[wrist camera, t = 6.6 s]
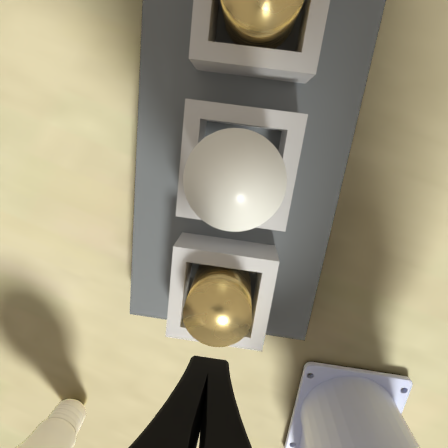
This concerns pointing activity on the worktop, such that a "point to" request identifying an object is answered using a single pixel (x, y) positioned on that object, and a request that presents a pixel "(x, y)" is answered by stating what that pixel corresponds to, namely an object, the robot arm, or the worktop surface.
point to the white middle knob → (235, 179)
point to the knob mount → (255, 121)
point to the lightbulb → (58, 427)
